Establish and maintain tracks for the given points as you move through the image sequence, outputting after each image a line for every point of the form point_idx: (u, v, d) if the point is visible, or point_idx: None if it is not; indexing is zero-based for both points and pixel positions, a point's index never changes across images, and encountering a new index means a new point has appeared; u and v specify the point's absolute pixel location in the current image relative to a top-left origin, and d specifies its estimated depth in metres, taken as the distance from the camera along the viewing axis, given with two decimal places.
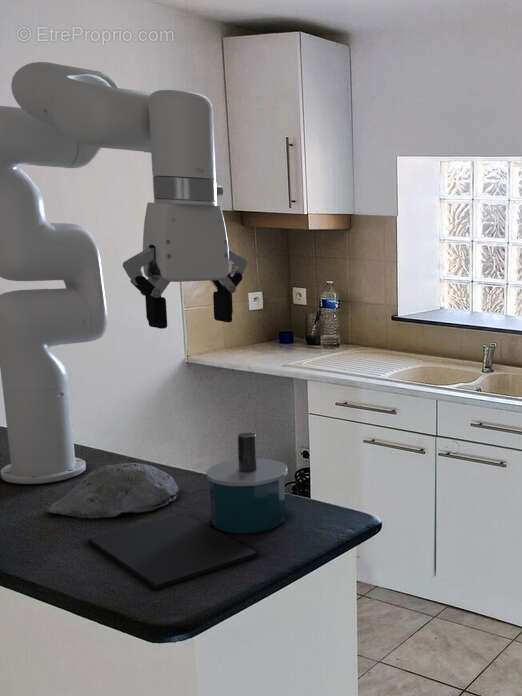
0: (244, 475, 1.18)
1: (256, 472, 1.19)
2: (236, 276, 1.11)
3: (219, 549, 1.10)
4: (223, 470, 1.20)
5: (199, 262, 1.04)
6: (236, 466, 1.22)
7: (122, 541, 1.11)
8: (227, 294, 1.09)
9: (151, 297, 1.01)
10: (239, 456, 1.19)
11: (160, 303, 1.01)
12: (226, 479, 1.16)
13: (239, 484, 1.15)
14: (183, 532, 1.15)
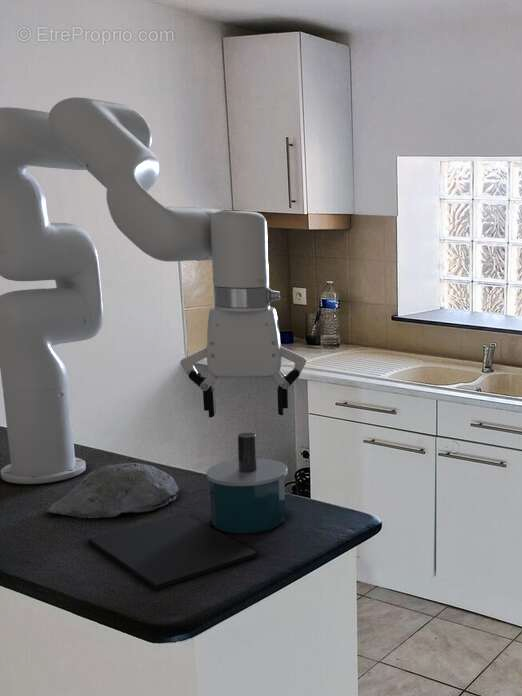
0: (244, 475, 1.18)
1: (256, 472, 1.19)
2: (292, 373, 1.18)
3: (219, 549, 1.10)
4: (223, 470, 1.20)
5: (244, 362, 1.14)
6: (236, 466, 1.22)
7: (122, 541, 1.11)
8: (279, 390, 1.17)
9: (202, 389, 1.15)
10: (239, 456, 1.19)
11: (207, 395, 1.15)
12: (226, 479, 1.16)
13: (239, 484, 1.15)
14: (183, 532, 1.15)
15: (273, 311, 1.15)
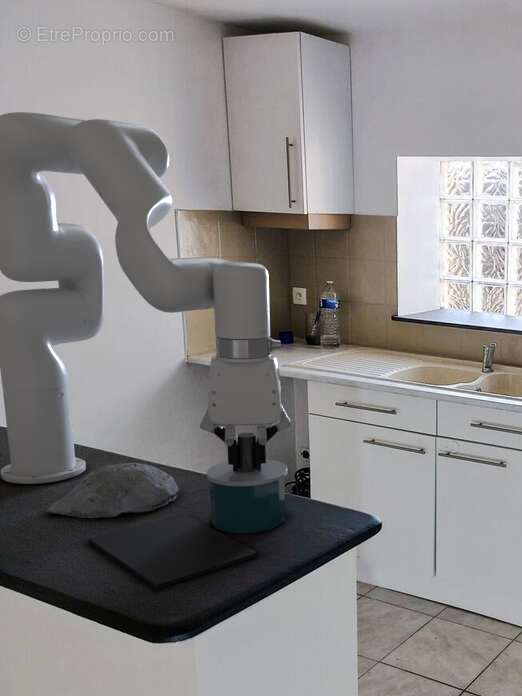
0: (244, 475, 1.18)
1: (256, 472, 1.19)
2: (270, 429, 1.19)
3: (219, 549, 1.10)
4: (223, 470, 1.20)
5: (245, 410, 1.16)
6: None
7: (122, 541, 1.11)
8: (257, 446, 1.19)
9: (227, 444, 1.18)
10: (239, 456, 1.19)
11: (232, 450, 1.18)
12: (226, 479, 1.16)
13: (239, 484, 1.15)
14: (183, 532, 1.15)
15: (274, 360, 1.17)
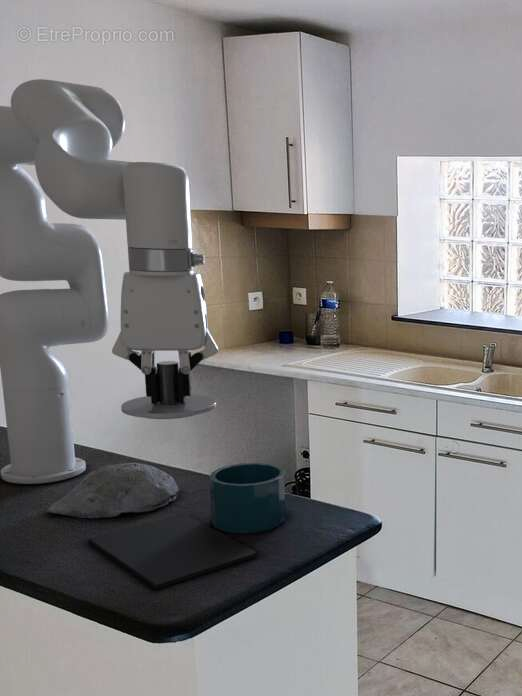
0: (164, 407, 1.04)
1: (179, 405, 1.06)
2: (194, 356, 1.05)
3: (219, 549, 1.10)
4: (141, 403, 1.06)
5: (163, 332, 1.02)
6: None
7: (122, 541, 1.11)
8: None
9: (144, 373, 1.04)
10: (159, 387, 1.05)
11: (150, 380, 1.04)
12: (142, 411, 1.02)
13: (156, 416, 1.01)
14: (183, 532, 1.15)
15: (196, 276, 1.03)
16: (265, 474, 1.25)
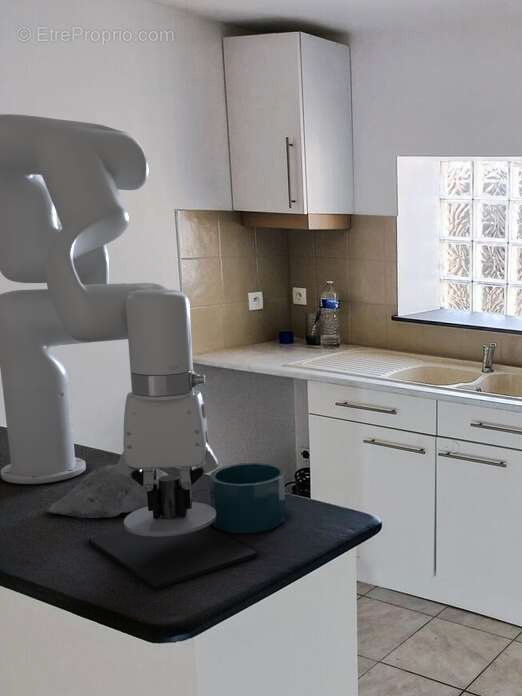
0: (165, 523, 1.07)
1: (179, 519, 1.09)
2: (194, 472, 1.08)
3: (219, 549, 1.10)
4: (143, 517, 1.09)
5: (164, 452, 1.05)
6: None
7: (122, 541, 1.11)
8: None
9: None
10: (160, 502, 1.08)
11: (151, 496, 1.07)
12: (144, 528, 1.05)
13: (157, 534, 1.04)
14: None
15: (197, 397, 1.06)
16: (265, 474, 1.25)
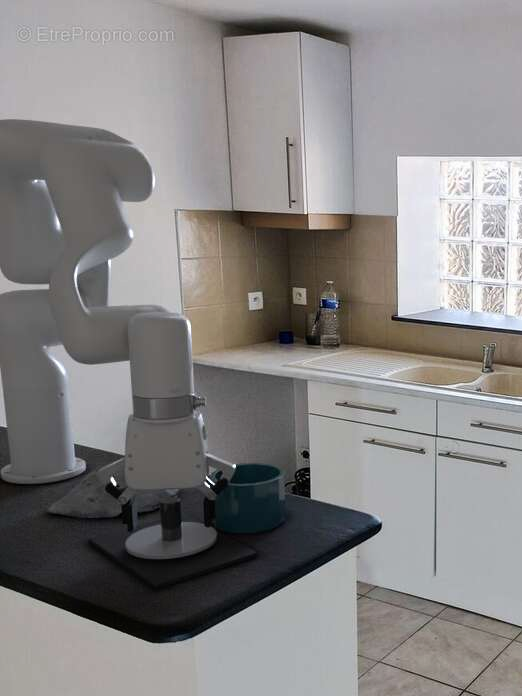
0: (166, 545, 1.08)
1: (181, 541, 1.09)
2: (220, 483, 1.10)
3: (219, 549, 1.10)
4: (145, 538, 1.09)
5: (165, 474, 1.06)
6: (160, 533, 1.11)
7: (122, 541, 1.11)
8: (205, 501, 1.09)
9: None
10: (162, 524, 1.09)
11: (126, 509, 1.06)
12: (145, 551, 1.06)
13: (159, 557, 1.05)
14: None
15: (198, 419, 1.07)
16: (265, 474, 1.25)
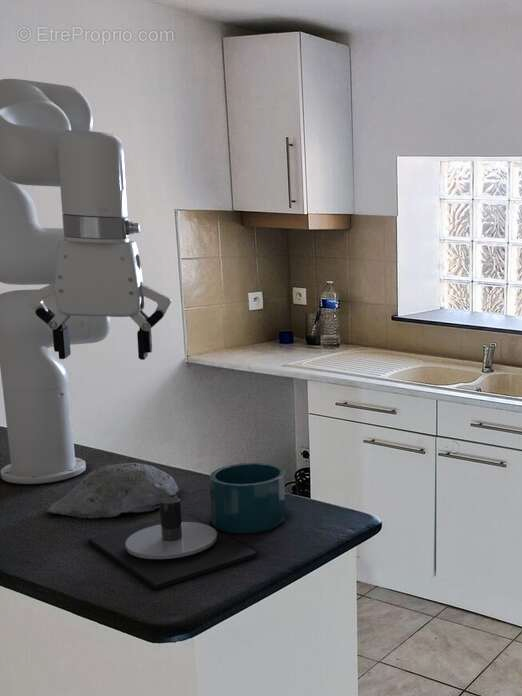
0: (166, 545, 1.08)
1: (181, 541, 1.09)
2: (154, 314, 1.08)
3: (219, 549, 1.10)
4: (145, 538, 1.09)
5: (97, 299, 1.05)
6: (160, 533, 1.11)
7: (122, 541, 1.11)
8: (139, 331, 1.08)
9: None
10: (162, 524, 1.09)
11: (57, 335, 1.05)
12: (145, 551, 1.06)
13: (159, 557, 1.05)
14: None
15: (131, 244, 1.05)
16: (265, 474, 1.25)
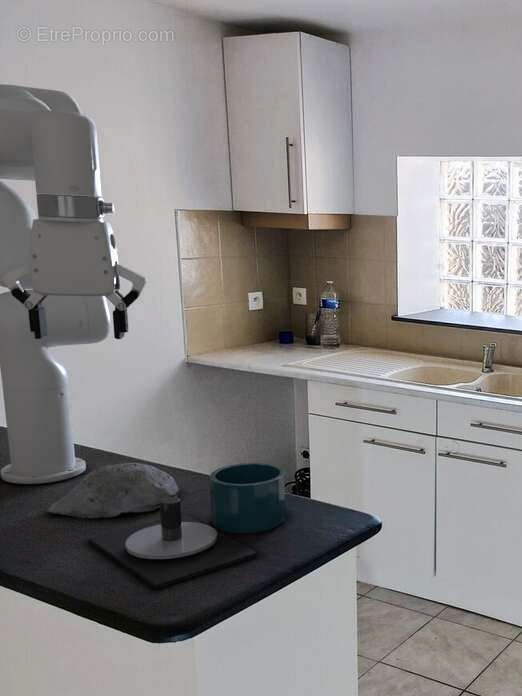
0: (166, 545, 1.08)
1: (181, 541, 1.09)
2: (129, 294, 1.09)
3: (219, 549, 1.10)
4: (145, 538, 1.09)
5: (72, 278, 1.05)
6: (160, 533, 1.11)
7: (122, 541, 1.11)
8: (114, 311, 1.09)
9: (28, 308, 1.06)
10: (162, 524, 1.09)
11: (33, 314, 1.06)
12: (145, 551, 1.06)
13: (159, 557, 1.05)
14: None
15: (105, 224, 1.06)
16: (265, 474, 1.25)
